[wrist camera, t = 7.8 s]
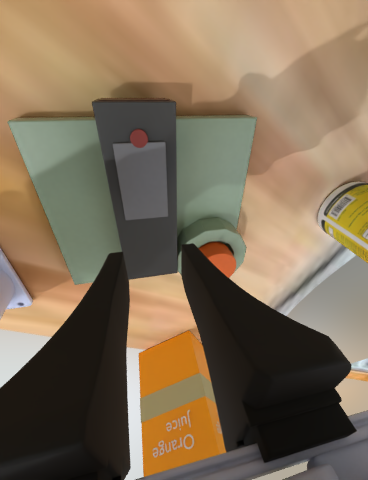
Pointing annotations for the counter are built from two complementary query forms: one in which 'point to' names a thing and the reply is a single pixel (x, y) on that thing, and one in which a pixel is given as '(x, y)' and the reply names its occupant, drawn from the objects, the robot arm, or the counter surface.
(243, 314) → the robot arm
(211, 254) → the power button
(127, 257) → the remote
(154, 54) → the counter surface
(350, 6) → the counter surface
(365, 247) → the pill bottle
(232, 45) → the counter surface
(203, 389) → the orange juice
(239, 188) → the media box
